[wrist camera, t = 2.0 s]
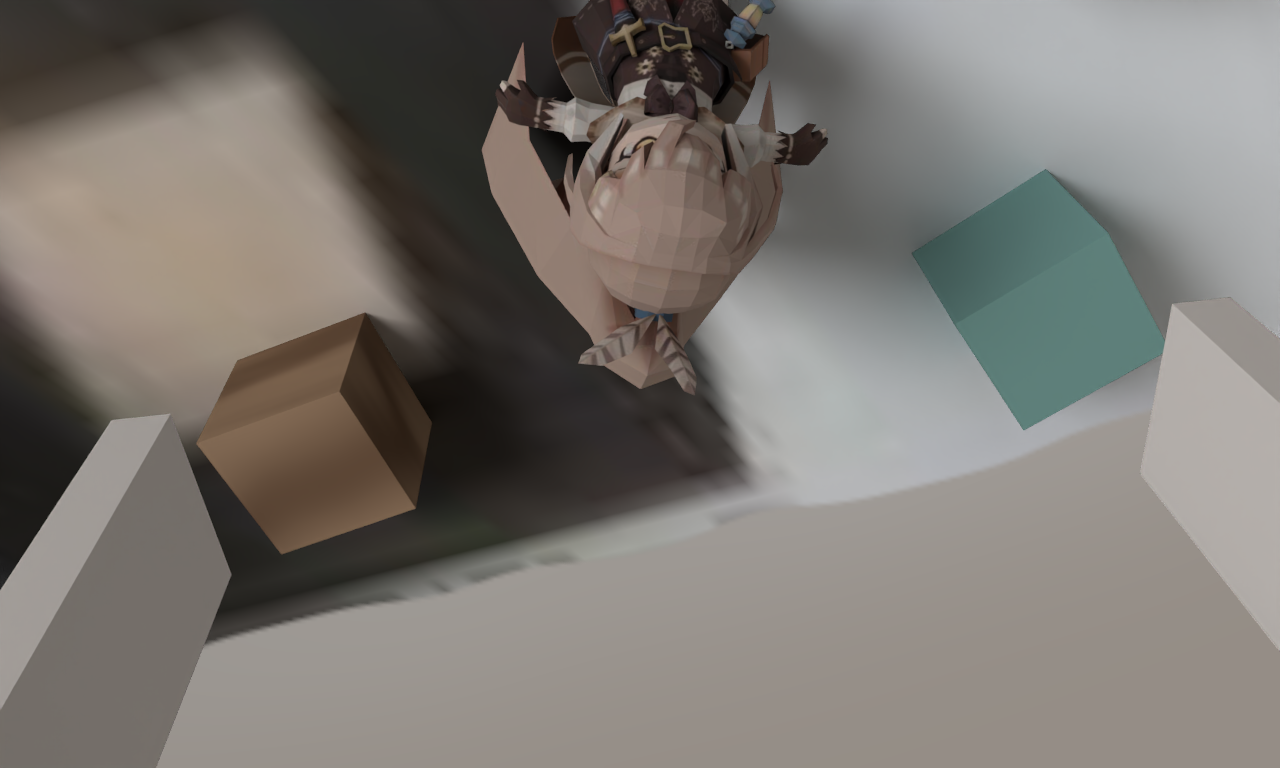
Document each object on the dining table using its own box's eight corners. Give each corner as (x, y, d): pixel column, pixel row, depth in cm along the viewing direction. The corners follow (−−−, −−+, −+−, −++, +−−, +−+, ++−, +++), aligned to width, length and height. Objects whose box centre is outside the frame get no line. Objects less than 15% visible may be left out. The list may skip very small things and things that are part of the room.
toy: (836, -89, 30) (929, 296, 20) (757, 153, 36) (799, 533, 27) (512, -147, 29) (447, 234, 19) (490, 114, 35) (434, 497, 26)
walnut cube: (237, 359, 38) (196, 443, 33) (365, 311, 37) (339, 391, 33) (311, 464, 40) (281, 554, 36) (432, 421, 40) (415, 508, 35)
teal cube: (911, 251, 37) (954, 324, 33) (1044, 168, 35) (1108, 233, 31) (975, 350, 39) (1023, 430, 35) (1103, 276, 38) (1169, 350, 34)
